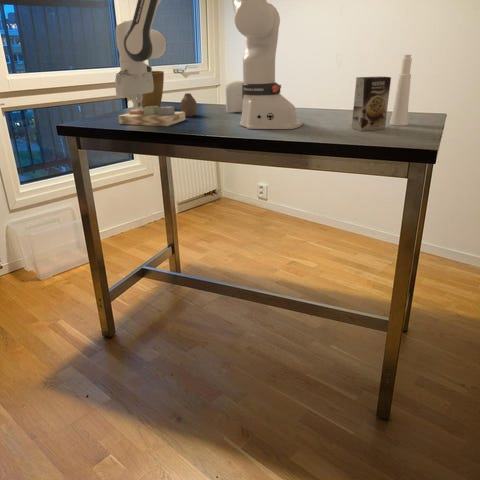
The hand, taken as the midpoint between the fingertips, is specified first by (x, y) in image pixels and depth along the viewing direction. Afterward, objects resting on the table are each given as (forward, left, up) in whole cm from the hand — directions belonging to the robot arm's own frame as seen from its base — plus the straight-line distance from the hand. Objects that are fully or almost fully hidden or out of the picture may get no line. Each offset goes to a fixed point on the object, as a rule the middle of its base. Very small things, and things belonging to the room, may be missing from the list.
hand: (137, 107), depth 165 cm
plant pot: (+13, -29, -5) cm, 32 cm away
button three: (-6, 0, -3) cm, 7 cm away
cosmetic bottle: (-96, -15, -5) cm, 97 cm away
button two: (-13, 0, -3) cm, 13 cm away
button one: (0, 0, -4) cm, 4 cm away
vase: (-14, -16, -6) cm, 22 cm away
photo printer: (-30, -30, -6) cm, 43 cm away
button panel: (-6, 0, -5) cm, 8 cm away
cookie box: (-87, -5, -6) cm, 87 cm away
